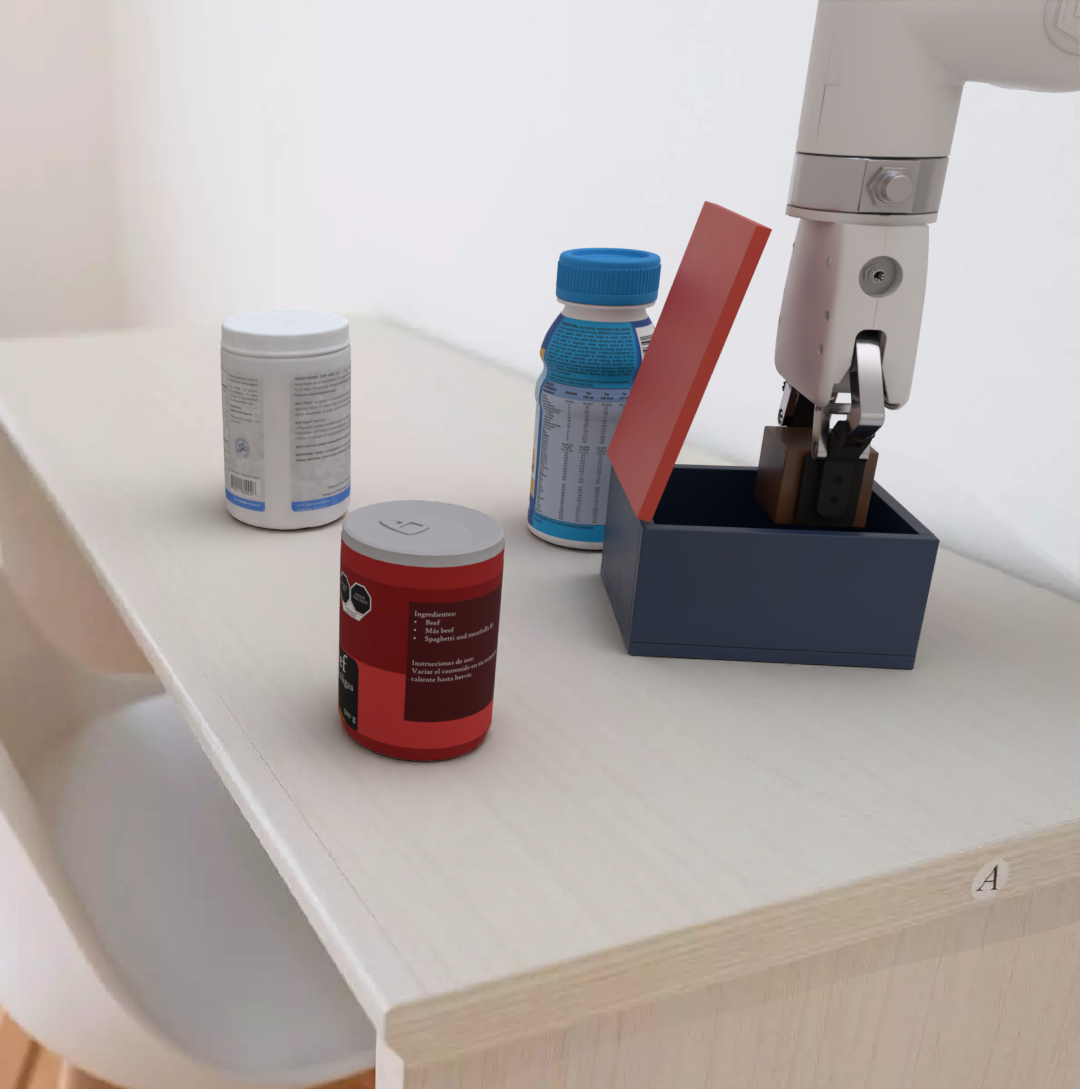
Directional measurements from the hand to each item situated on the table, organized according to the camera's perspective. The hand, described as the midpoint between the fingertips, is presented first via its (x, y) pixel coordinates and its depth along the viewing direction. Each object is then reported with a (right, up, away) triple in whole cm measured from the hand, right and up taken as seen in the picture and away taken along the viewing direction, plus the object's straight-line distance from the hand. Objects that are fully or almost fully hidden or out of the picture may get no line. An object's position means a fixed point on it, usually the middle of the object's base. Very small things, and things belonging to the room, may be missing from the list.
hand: (808, 504), depth 73 cm
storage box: (-3, -7, +3) cm, 8 cm away
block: (0, 0, 0) cm, 0 cm away
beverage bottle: (-9, -2, +17) cm, 19 cm away
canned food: (-25, -12, -10) cm, 29 cm away
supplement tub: (-31, 0, +21) cm, 37 cm away
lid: (-8, +8, -2) cm, 12 cm away
